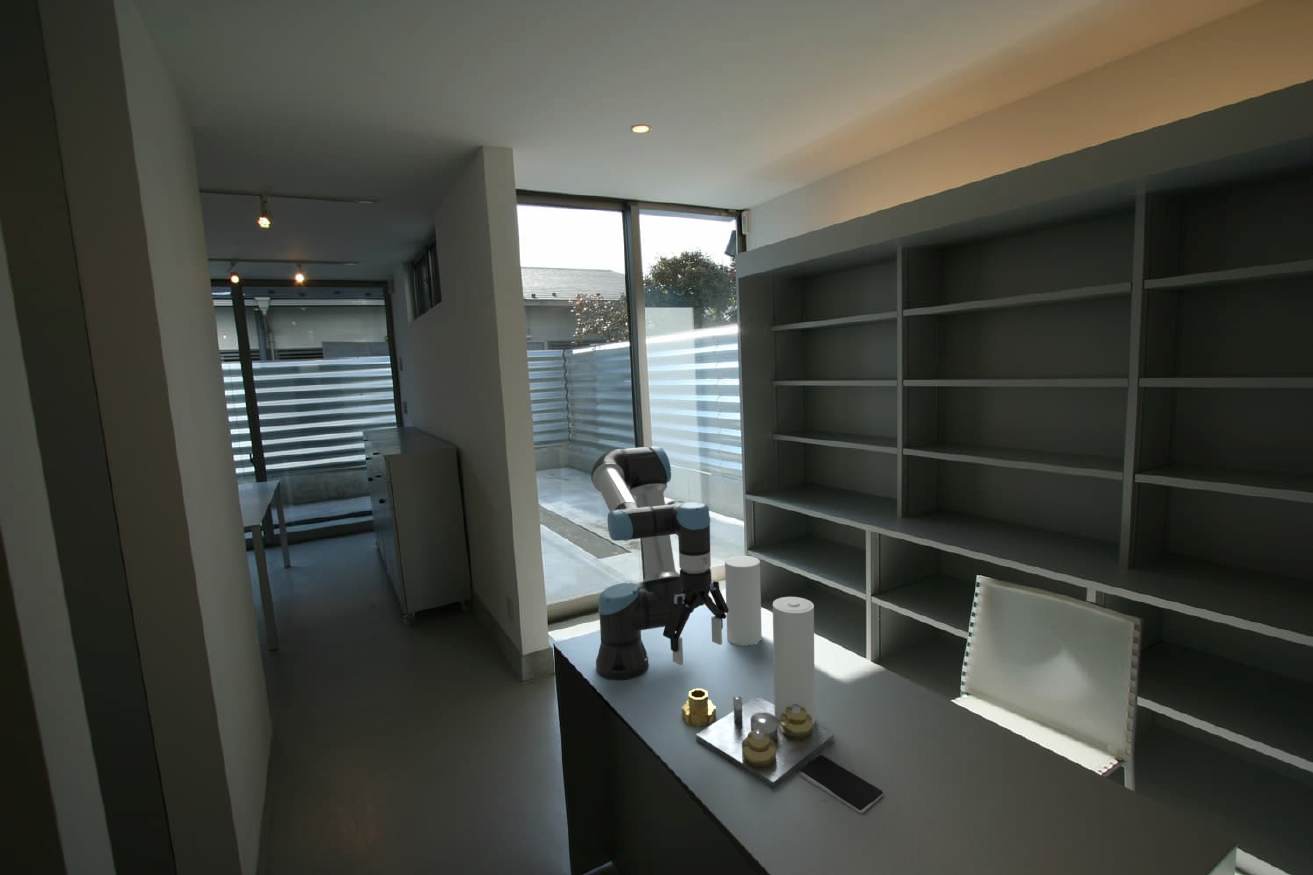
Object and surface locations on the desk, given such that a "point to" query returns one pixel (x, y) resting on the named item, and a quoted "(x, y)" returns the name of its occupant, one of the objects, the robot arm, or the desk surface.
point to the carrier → (765, 739)
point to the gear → (698, 708)
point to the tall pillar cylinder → (743, 600)
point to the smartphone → (841, 783)
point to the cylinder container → (793, 655)
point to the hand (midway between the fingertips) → (698, 652)
